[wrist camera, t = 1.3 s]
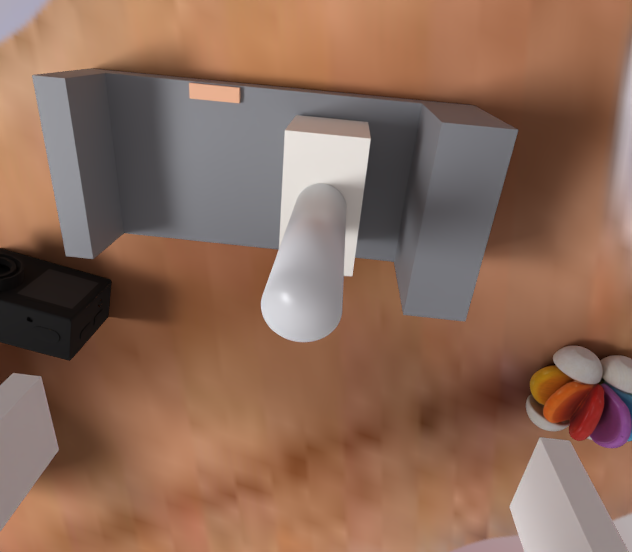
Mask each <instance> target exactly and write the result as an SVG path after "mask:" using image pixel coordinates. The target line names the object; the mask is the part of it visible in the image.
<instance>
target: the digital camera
mask: <svg viewBox="0 0 632 552" xmlns="http://www.w3.org/2000/svg"><path fill="white" fill-rule="evenodd" d="M110 293H111V280H110V279H106V278H103V277H100V276H96V275H93V274H89V273H86V272H82V271H79V270H75V269H72V268H68V267H65V266H61V265H58V264H54V263H51V262H47V261H44V260H40V259H37V258H33V257H29V256H26V255H22V254H19V253H15V252H12V251H8V250H5V249H1V248H0V342H2V343H5V344H9V345H13V346H16V347H20V348H24V349H27V350H31V351H35V352H39V353H43V354H46V355H50V356H54V357H58V358H62V359H65V360H69V361H70V360H71V359H72V358H73V357H74V356H75V355H76V353H77V352H78V351H79V350H80V349H81V348H82V347H83V345H84V344H85V343H86V342H87V341H88V340H89V339H90V337H91V336H92V335H93V334H94V333H95V332H96V330H97V329H98V328H99V327H100V326H101V325H102V324H103V322H104V321H105V320H106V319H107V318H108V315H109V304H110ZM100 299H101V300H100ZM101 304H102V305H101ZM98 305H100V307H99V306H98Z"/></svg>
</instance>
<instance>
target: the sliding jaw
mask: <svg viewBox="0 0 632 552" xmlns="http://www.w3.org/2000/svg"><path fill="white" fill-rule="evenodd" d="M370 141H371V137H370V131H369V125H368V122H363V121H353V120H342V119H332V118H322V117H312V116H302V115H296V116H295V117H294V119H293V120H292V121H291V123H290V124H289V125H288V127H287V128H286V129H285V136H284V156H283V176H282V197H281V217H280V237H279V251H278V253H277V256H276V259H275V262H274V265H273V268H272V270H271V273H270V276H269V279H268V282H267V284H266V287H265V290H264V293H263V296H262V299H261V310H262V314H263V317H264V319H265V321H266V323H267V324H268V326H269V327H270V328H271V329H272V330H273V331H274V332H275V333H277V334H278V335H280V336H282V337H283V338H286V339H288V340H292V341H296V342H311V341H316V340H319V339H322V338H324V337H326V336H327V335H329V334H330V333H331V332H332V331H333V330H334V329H335V328H336V327H337V325H338V324H339V322H340V319H341V315H342V303H343V280H344V276H352V275H353V268H354V260H355V253H356V245H357V238H358V230H359V223H360V215H361V208H362V201H363V193H364V186H365V178H366V171H367V163H368V156H369V148H370Z"/></svg>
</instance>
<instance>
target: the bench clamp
mask: <svg viewBox="0 0 632 552" xmlns="http://www.w3.org/2000/svg"><path fill="white" fill-rule="evenodd" d="M32 77H33V83H34V88H35V94H36V99H37V104H38V110H39V115H40V120H41V126H42V131H43V136H44V142H45V147H46V152H47V158H48V163H49V168H50V174H51V179H52V184H53V190H54V195H55V200H56V206H57V211H58V216H59V222H60V227H61V232H62V238H63V243H64V248H65V254H66V256H69V257H78V258H87V259H94V258H95V257H96V256H98V255H99V254H100V253H101V252H102V251H103V250H105V249H106V248H107V247H108V246H109V245H111V244H112V243H113V242H114V241H115V240H116V239H118V238H119V237H120V236H121V235H122V234H124V233H128V234H138V235H147V236H157V237H166V238H175V239H185V240H194V241H204V242H213V243H223V244H232V245H242V246H251V247H260V248H270V249H279V237H280V217H281V197H282V176H283V156H284V136H285V129H286V128H287V127H288V125H289V124H290V123H291V121H292V120H293V119H294V117H295V116H296V115H302V116H312V117H322V118H332V119H342V120H353V121H363V122H368V125H369V131H370V137H371V141H370V148H369V156H368V163H367V171H366V178H365V186H364V193H363V201H362V208H361V215H360V223H359V230H358V238H357V245H356V253H355V258H364V259H374V260H383V261H393V262H394V265H395V271H396V276H397V282H398V288H399V293H400V299H401V304H402V310H403V315H411V316H420V317H429V318H438V319H447V320H456V321H466V317H467V314H468V310H469V306H470V303H471V299H472V296H473V292H474V288H475V285H476V281H477V277H478V274H479V270H480V267H481V263H482V259H483V256H484V252H485V249H486V245H487V241H488V238H489V234H490V231H491V227H492V223H493V220H494V216H495V213H496V209H497V205H498V202H499V198H500V194H501V191H502V187H503V184H504V180H505V176H506V173H507V169H508V166H509V162H510V158H511V155H512V151H513V148H514V144H515V140H516V137H517V133H518V129H516V128H514V127H512V126H511V125H509V124H507V123H505V122H503V121H502V120H500V119H498V118H496V117H494V116H493V115H491V114H489V113H487V112H485V111H484V110H482V109H480V108H478V107H476V106H475V105H465V104H455V103H445V102H434V101H424V100H414V99H403V98H393V97H382V96H372V95H362V94H351V93H341V92H330V91H320V90H310V89H299V88H289V87H278V86H268V85H258V84H247V83H237V82H226V81H216V80H206V79H195V78H185V77H175V76H164V75H154V74H143V73H133V72H123V71H112V70H102V69H82V70H74V71H65V72H56V73H47V74H38V75H32Z"/></svg>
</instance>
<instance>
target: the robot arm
mask: <svg viewBox="0 0 632 552" xmlns="http://www.w3.org/2000/svg"><path fill="white" fill-rule="evenodd" d="M58 451H59V448H58V444H57V439H56V435H55V431H54V427H53V423H52V419H51V415H50V410H49V406H48V402H47V398H46V394H45V390H44V386H43V382H42V377H41V376H34V375H26V374H18V373H12V374H11V375H10V376H9V377H8V378H7V379H6V380H5V381H4V382H3V383H2V384H1V385H0V531H1V530H2V528H3V527H4V526H5V524H6V523H7V521H8V520H9V519H10V517H11V516H12V514H13V513H14V512H15V510H16V509H17V508H18V506H19V505H20V503H21V502H22V501H23V499H24V498H25V496H26V495H27V494H28V492H29V491H30V489H31V488H32V487H33V485H34V484H35V483H36V481H37V480H38V478H39V477H40V476H41V474H42V473H43V471H44V470H45V469H46V467H47V466H48V464H49V463H50V462H51V460H52V459H53V458H54V456H55V455H56V453H57V452H58ZM510 510H511V513H512V516H513V519H514V522H515V525H516V528H517V531H518V534H519V537H520V540H521V543H522V546H523V550H524V552H629V551H628V549H627V548H626V546H625V544H624V542H623V540H622V538H621V536H620V534H619V532H618V531H617V529H616V527H615V525H614V523H613V521H612V519H611V517H610V516H609V514H608V512H607V510H606V508H605V506H604V504H603V502H602V500H601V499H600V497H599V495H598V493H597V491H596V489H595V487H594V485H593V484H592V482H591V480H590V478H589V476H588V474H587V472H586V470H585V468H584V467H583V465H582V463H581V461H580V459H579V457H578V455H577V453H576V452H575V450H574V448H573V446H572V444H571V442H570V441H567V440H559V439H551V438H543V437H540V438H539V440H538V442H537V445H536V447H535V449H534V452H533V454H532V456H531V458H530V461H529V463H528V465H527V468H526V470H525V472H524V475H523V477H522V479H521V481H520V484H519V486H518V488H517V491H516V493H515V495H514V497H513V500H512V502H511V504H510Z"/></svg>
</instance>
